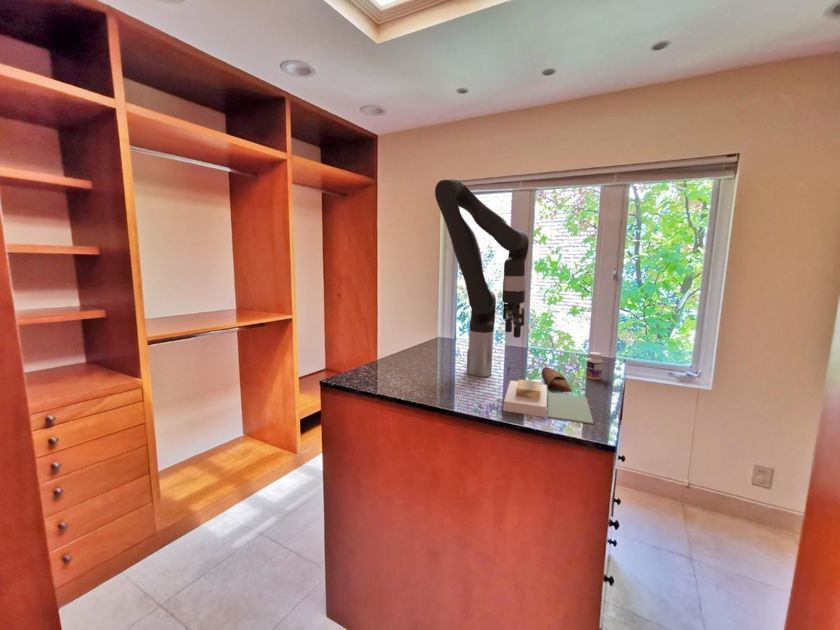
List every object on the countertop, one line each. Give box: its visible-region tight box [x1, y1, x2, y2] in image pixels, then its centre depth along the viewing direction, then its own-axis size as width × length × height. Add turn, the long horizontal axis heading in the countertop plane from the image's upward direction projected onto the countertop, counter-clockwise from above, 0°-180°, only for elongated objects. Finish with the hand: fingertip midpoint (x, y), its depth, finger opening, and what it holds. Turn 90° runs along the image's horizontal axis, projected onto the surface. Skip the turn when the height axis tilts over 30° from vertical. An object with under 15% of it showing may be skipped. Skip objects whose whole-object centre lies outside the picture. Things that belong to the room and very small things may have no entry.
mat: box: [547, 392, 594, 425], centre depth 114 cm, size 12×20×1 cm, turn 161°
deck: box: [502, 380, 548, 418], centre depth 118 cm, size 12×20×3 cm, turn 161°
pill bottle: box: [585, 351, 604, 380], centre depth 142 cm, size 5×5×10 cm
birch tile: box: [516, 379, 542, 399], centre depth 117 cm, size 7×9×2 cm
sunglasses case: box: [541, 366, 573, 393], centre depth 136 cm, size 18×7×7 cm, turn 170°
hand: (512, 334), depth 131 cm, fingers open, 8 cm apart
